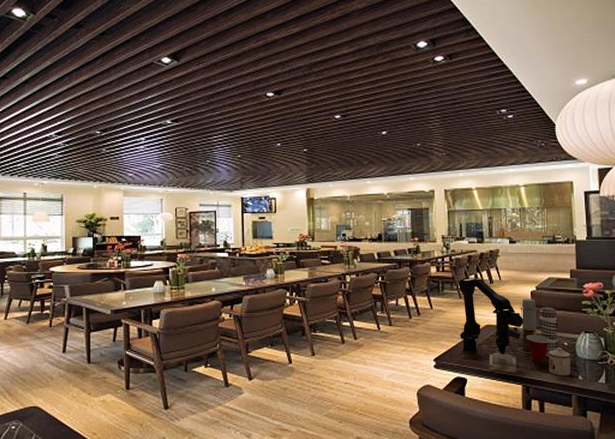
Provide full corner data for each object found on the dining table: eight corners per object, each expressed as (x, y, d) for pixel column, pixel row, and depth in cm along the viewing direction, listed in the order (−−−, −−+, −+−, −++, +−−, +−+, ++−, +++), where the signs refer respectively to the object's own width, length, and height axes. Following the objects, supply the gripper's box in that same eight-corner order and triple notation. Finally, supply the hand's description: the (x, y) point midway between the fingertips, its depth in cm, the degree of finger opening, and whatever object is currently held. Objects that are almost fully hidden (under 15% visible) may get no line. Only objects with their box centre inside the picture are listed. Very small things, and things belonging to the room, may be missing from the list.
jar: (495, 362, 223) (495, 350, 223) (495, 358, 229) (495, 347, 229) (509, 363, 220) (509, 351, 220) (508, 360, 226) (508, 348, 226)
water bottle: (536, 341, 262) (536, 299, 262) (535, 344, 255) (535, 301, 255) (520, 339, 267) (519, 298, 267) (518, 342, 260) (517, 300, 260)
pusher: (493, 364, 218) (493, 354, 218) (493, 363, 220) (493, 353, 220) (511, 367, 214) (511, 356, 214) (511, 365, 217) (511, 355, 217)
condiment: (538, 351, 241) (538, 329, 241) (530, 353, 237) (529, 331, 237) (525, 348, 247) (525, 327, 248) (517, 350, 243) (517, 329, 243)
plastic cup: (538, 365, 217) (537, 341, 217) (522, 358, 228) (521, 336, 228) (555, 363, 220) (555, 339, 220) (539, 357, 231) (538, 334, 231)
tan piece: (489, 369, 212) (489, 364, 212) (490, 359, 228) (490, 354, 228) (516, 372, 207) (516, 367, 207) (515, 361, 223) (515, 356, 223)
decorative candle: (546, 350, 241) (545, 305, 242) (562, 355, 233) (561, 308, 233) (535, 353, 237) (534, 307, 238) (551, 357, 229) (550, 310, 229)
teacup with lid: (546, 368, 212) (546, 344, 212) (567, 370, 210) (566, 346, 210) (553, 377, 201) (553, 351, 201) (575, 378, 198) (575, 353, 198)
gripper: (520, 328, 213) (520, 360, 213) (518, 320, 230) (519, 350, 230) (495, 326, 217) (496, 357, 217) (495, 318, 234) (496, 347, 234)
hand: (502, 353), depth 224 cm, fingers open, 9 cm apart
